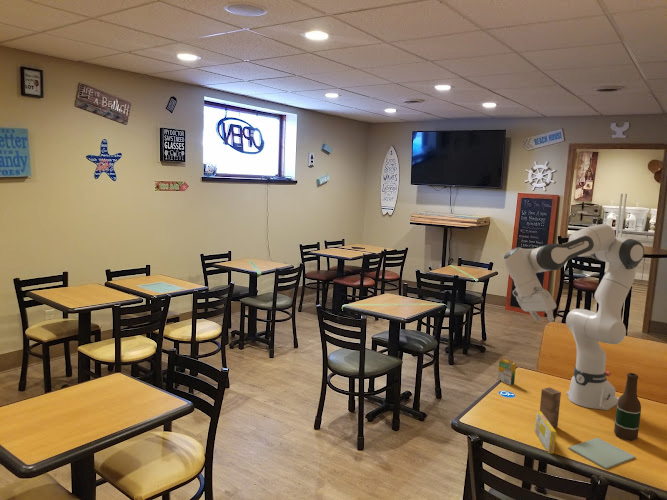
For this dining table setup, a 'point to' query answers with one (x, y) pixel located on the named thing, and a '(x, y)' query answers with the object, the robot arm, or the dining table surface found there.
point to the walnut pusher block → (550, 405)
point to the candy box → (545, 432)
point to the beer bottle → (628, 411)
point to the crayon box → (506, 371)
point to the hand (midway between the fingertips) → (545, 320)
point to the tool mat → (601, 453)
